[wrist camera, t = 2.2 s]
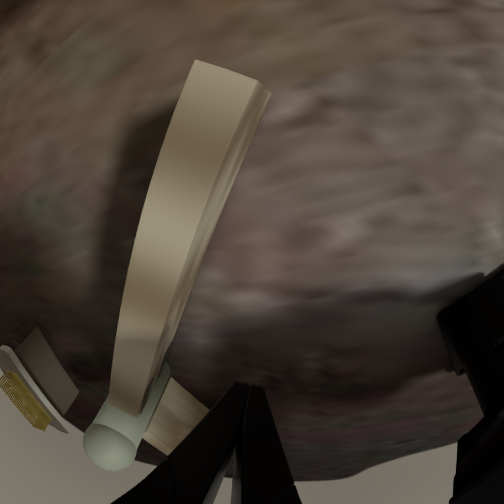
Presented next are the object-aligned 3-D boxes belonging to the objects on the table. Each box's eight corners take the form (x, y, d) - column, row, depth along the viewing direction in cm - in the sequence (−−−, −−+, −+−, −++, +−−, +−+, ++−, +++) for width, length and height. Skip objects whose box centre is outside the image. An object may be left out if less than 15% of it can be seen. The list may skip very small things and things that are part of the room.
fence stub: (216, 415, 21) (201, 468, 17) (205, 418, 22) (189, 469, 17) (170, 376, 20) (146, 431, 16) (160, 380, 21) (136, 433, 16)
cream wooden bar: (166, 360, 19) (138, 419, 14) (139, 347, 19) (106, 403, 14) (274, 95, 12) (261, 81, 7) (230, 78, 11) (192, 58, 7)
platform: (63, 409, 28) (39, 448, 22) (-17, 277, 21) (-61, 313, 15) (143, 427, 25) (119, 479, 19) (50, 266, 18) (-11, 317, 12)
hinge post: (181, 373, 20) (136, 481, 12) (153, 384, 21) (108, 479, 13) (148, 342, 19) (88, 449, 11) (123, 356, 20) (66, 450, 12)
